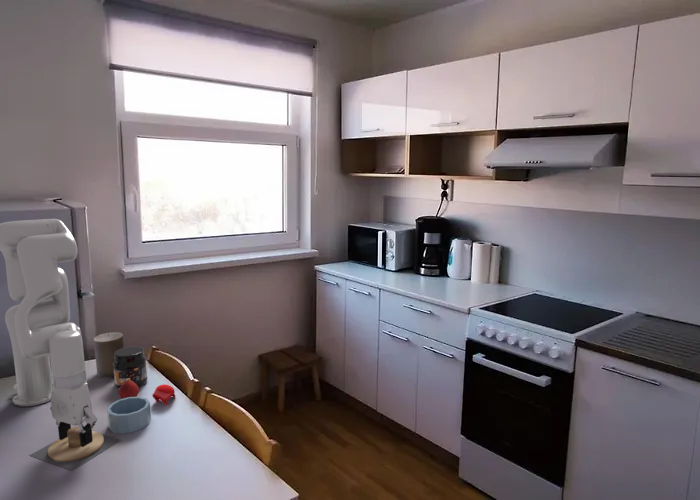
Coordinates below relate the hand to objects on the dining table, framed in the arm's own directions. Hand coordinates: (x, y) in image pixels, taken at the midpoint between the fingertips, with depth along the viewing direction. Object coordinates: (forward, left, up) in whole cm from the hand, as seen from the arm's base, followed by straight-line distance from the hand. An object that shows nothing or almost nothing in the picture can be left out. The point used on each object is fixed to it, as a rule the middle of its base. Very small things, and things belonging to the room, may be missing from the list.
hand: (76, 440), depth 131 cm
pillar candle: (-32, +39, -3) cm, 51 cm away
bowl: (+3, +15, -3) cm, 16 cm away
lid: (0, 0, -2) cm, 2 cm away
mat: (0, 0, -3) cm, 3 cm away
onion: (-8, +25, -3) cm, 26 cm away
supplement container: (-18, +35, -3) cm, 39 cm away
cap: (+2, +30, -3) cm, 30 cm away
